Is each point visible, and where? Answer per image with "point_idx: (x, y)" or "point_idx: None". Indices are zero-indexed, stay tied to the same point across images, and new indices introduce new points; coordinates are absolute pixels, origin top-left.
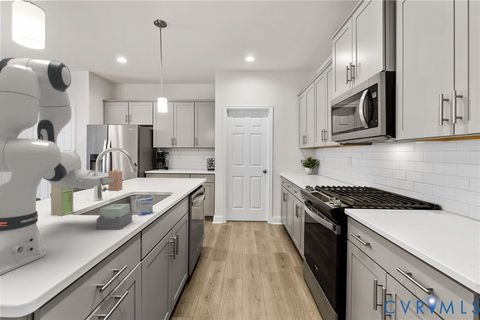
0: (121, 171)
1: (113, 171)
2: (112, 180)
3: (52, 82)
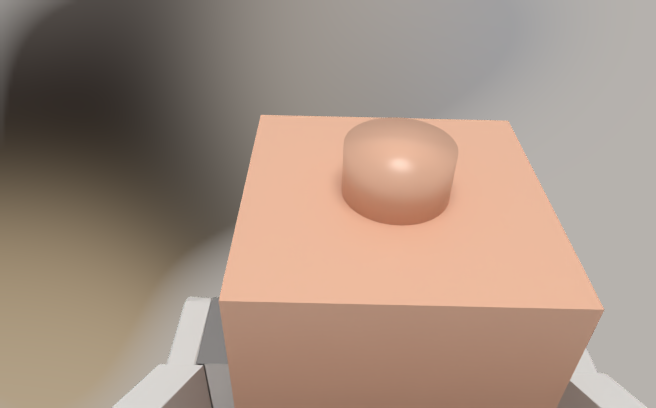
0: (314, 119)
1: (409, 230)
2: None
3: None
